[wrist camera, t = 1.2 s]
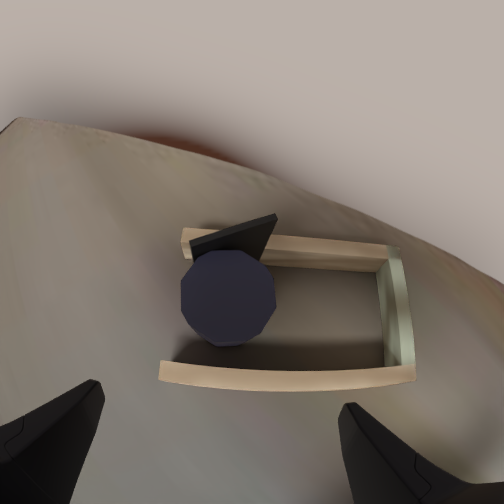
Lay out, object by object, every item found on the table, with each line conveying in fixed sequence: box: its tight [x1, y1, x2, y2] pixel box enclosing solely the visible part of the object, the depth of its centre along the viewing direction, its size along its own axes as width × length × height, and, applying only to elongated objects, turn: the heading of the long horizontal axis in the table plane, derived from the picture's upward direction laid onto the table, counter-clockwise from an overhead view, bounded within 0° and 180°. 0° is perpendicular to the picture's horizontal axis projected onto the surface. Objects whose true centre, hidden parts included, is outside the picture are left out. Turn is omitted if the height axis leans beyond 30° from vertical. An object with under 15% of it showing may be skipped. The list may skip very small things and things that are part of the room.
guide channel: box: [158, 228, 416, 392], centre depth 22 cm, size 13×20×3 cm, turn 87°
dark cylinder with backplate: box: [181, 213, 278, 347], centre depth 19 cm, size 8×6×10 cm
